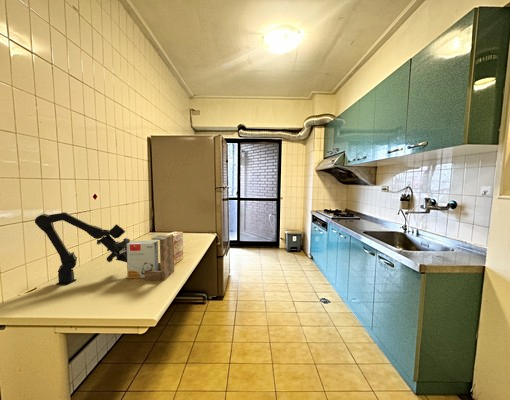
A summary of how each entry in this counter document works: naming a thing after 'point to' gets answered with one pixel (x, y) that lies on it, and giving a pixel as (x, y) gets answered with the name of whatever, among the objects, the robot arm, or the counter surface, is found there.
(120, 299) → the counter surface
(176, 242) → the coffeecake box
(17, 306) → the counter surface
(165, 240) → the bracket
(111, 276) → the counter surface
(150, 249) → the hard drive box
